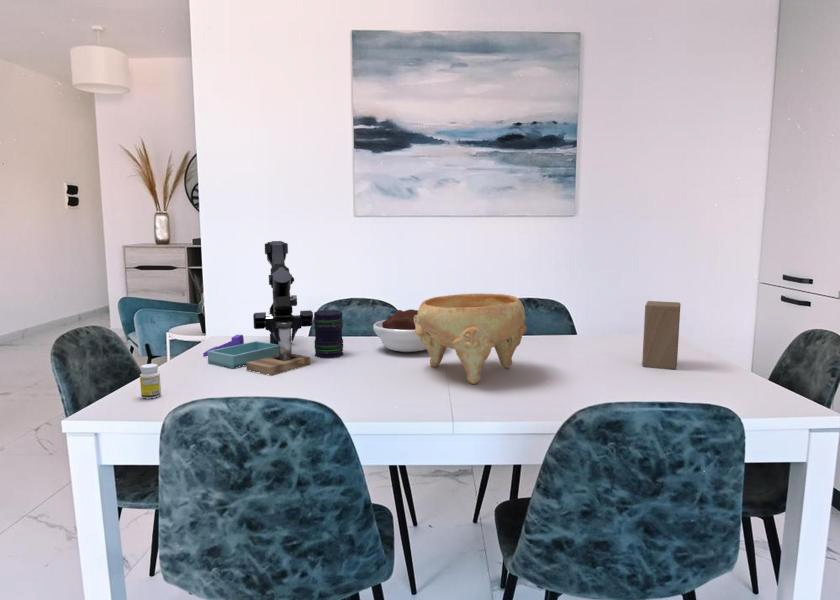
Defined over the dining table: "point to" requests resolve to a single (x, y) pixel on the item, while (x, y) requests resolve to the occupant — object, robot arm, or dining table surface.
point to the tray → (242, 354)
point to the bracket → (228, 344)
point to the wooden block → (661, 334)
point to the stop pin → (284, 340)
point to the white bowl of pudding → (399, 332)
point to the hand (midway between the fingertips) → (285, 341)
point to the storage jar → (328, 334)
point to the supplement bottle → (150, 381)
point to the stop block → (277, 364)
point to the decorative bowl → (471, 328)
